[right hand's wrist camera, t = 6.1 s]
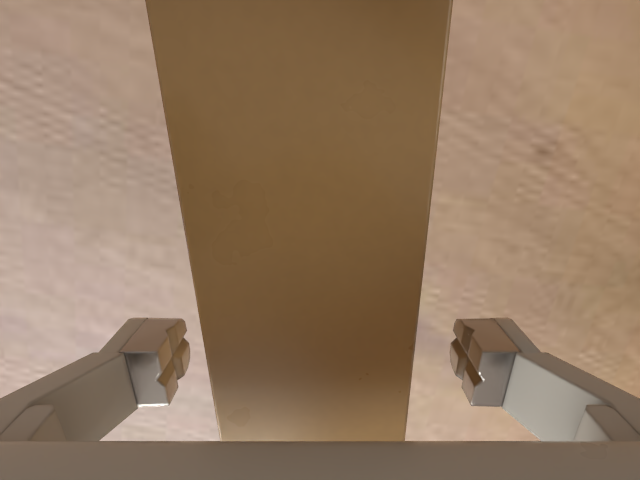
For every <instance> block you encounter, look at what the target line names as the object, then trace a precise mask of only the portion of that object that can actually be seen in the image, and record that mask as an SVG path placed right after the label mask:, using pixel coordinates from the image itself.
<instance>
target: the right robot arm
mask: <svg viewBox="0 0 640 480" xmlns="http://www.w3.org/2000/svg"><path fill="white" fill-rule="evenodd" d="M186 331H187V329H186V324H185V321H184V320H183V319H178V318H131V319H128V320H127V322H126V323H125V324H124V325H123V326H122V327H121V328H120V329H119V330H118V332H117V333H116V334H115V335H114V336H113V337H112V338H111V339H110V340H109V342H108V343H107V344H106V345H105V346H104V347H103V348H102V349H101V350H100V352H99V353H91V354H89V355H87V356H85V357H83V358H81V359H79V360H77V361H75V362H73V363H71V364H69V365H67V366H65V367H63V368H61V369H59V370H57V371H55V372H53V373H51V374H49V375H47V376H45V377H43V378H41V379H39V380H37V381H35V382H33V383H31V384H29V385H27V386H25V387H23V388H21V389H19V390H17V391H15V392H13V393H11V394H9V395H7V396H5V397H3V398H1V399H0V480H640V399H639V398H637V397H635V396H633V395H631V394H629V393H627V392H625V391H623V390H621V389H619V388H617V387H615V386H613V385H611V384H609V383H607V382H605V381H603V380H601V379H599V378H597V377H595V376H593V375H591V374H589V373H587V372H585V371H583V370H581V369H579V368H577V367H575V366H573V365H571V364H569V363H567V362H565V361H563V360H561V359H559V358H557V357H555V356H553V355H551V354H549V353H541V352H540V350H539V349H538V348H537V347H536V346H535V345H534V344H533V343H532V342H531V340H530V339H529V338H528V337H527V336H526V335H525V334H524V333H523V332H522V330H521V329H520V328H519V327H518V326H517V325H516V324H515V323H514V322H513V320H511V319H509V318H489V319H456V321H455V323H454V329H453V331H454V333H455V335H456V337H457V338H456V339H455V340H454V341H453V342H452V343H451V347H450V361H451V365H452V368H453V371H454V373H455V375H456V376H457V377H459V378H460V379H462V380H463V382H462V389H463V391H464V393H465V395H466V397H467V399H468V401H469V403H470V405H471V406H495V407H502V408H503V409H504V410H505V411H506V412H507V413H509V414H510V415H511V416H512V417H513V418H515V419H516V420H517V421H518V422H519V423H521V424H522V425H523V426H524V427H525V428H527V429H528V430H529V431H530V432H531V433H533V434H534V435H535V436H536V437H537V438H539V439H540V440H541V441H99V440H100V439H102V438H103V437H104V436H105V435H106V434H108V433H109V432H110V431H111V430H112V429H114V428H115V427H116V426H117V425H118V424H120V423H121V422H122V421H123V420H124V419H126V418H127V417H128V416H129V415H130V414H132V413H133V412H134V411H135V410H136V409H138V407H145V406H169V405H170V403H171V401H172V399H173V397H174V395H175V393H176V391H177V389H178V382H177V380H178V379H180V378H181V377H183V376H184V375H185V373H186V371H187V369H188V365H189V360H190V346H189V343H188V342H187V341H186V340H185V339H184V338H183V337H184V335H185V333H186Z"/></svg>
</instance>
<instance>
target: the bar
mask: <svg viewBox="0 0 640 480" xmlns="http://www.w3.org/2000/svg"><path fill="white" fill-rule="evenodd" d="M145 1H146V7H147V13H148V19H149V24H150V30H151V36H152V42H153V48H154V54H155V60H156V65H157V71H158V77H159V83H160V89H161V95H162V101H163V107H164V112H165V118H166V124H167V130H168V136H169V142H170V148H171V154H172V159H173V165H174V171H175V177H176V183H177V189H178V195H179V200H180V206H181V212H182V218H183V224H184V230H185V236H186V242H187V247H188V253H189V259H190V265H191V271H192V277H193V283H194V288H195V294H196V300H197V306H198V312H199V318H200V324H201V330H202V335H203V341H204V347H205V353H206V359H207V365H208V371H209V377H210V382H211V388H212V394H213V400H214V406H215V412H216V418H217V423H218V429H219V435H220V441H405V433H406V423H407V414H408V405H409V396H410V387H411V378H412V369H413V360H414V351H415V342H416V332H417V323H418V314H419V305H420V296H421V287H422V278H423V269H424V260H425V251H426V241H427V232H428V223H429V214H430V205H431V196H432V187H433V178H434V169H435V160H436V150H437V141H438V132H439V123H440V114H441V105H442V96H443V87H444V78H445V69H446V59H447V50H448V41H449V32H450V23H451V14H452V5H453V0H145Z"/></svg>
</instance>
